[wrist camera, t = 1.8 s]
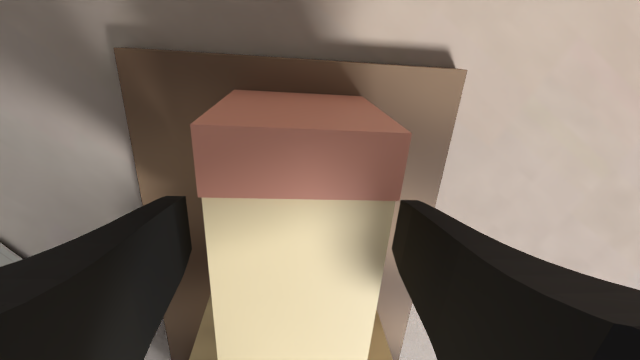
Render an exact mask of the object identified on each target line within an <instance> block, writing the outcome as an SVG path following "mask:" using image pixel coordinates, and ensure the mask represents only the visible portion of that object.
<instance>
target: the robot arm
mask: <svg viewBox="0 0 640 360" xmlns="http://www.w3.org/2000/svg"><path fill="white" fill-rule="evenodd" d="M191 250H192V244H191V236H190V228H189V220H188V212H187V204H186V196H164V197H161V198H159V199H156V200H154V201H152V202H150V203H148V204H146V205H144V206H142V207H140V208H138V209H136V210H134V211H132V212H130V213H128V214H126V215H124V216H122V217H120V218H118V219H116V220H115V221H113V222H110V223H108V224H106V225H104V226H102V227H100V228H98V229H95V230H93V231H91V232H89V233H87V234H85V235H83V236H80V237H78V238H76V239H74V240H71V241H69V242H67V243H64V244H62V245H59V246H57V247H55V248H52V249H49V250H47V251H44V252H41V253H39V254H36V255H34V256H31V257H28V258H25V259H23V260H20V261H17V262H14V263H11V264H7V265H4V266H1V267H0V360H144V358H145V355H146V353H147V351H148V348H149V346H150V344H151V341H152V339H153V337H154V335H155V333H156V331H157V329H158V327H159V325H160V323H161V321H162V319H163V317H164V315H165V313H166V311H167V309H168V307H169V304H170V302H171V300H172V298H173V296H174V294H175V292H176V290H177V288H178V286H179V284H180V282H181V280H182V277H183V275H184V273H185V270H186V267H187V264H188V260H189V257H190V254H191ZM392 252H393V256H394V259H395V262H396V266H397V269H398V272H399V274H400V277H401V279H402V281H403V283H404V285H405V287H406V290H407V292H408V294H409V296H410V298H411V300H412V302H413V304H414V306H415V308H416V311H417V313H418V315H419V317H420V319H421V321H422V323H423V325H424V327H425V329H426V332H427V334H428V336H429V339H430V341H431V343H432V346H433V349H434V351H435V354H436V357H437V360H640V290H637V289H633V288H630V287H626V286H622V285H619V284H615V283H611V282H608V281H604V280H601V279H598V278H594V277H591V276H588V275H585V274H581V273H578V272H575V271H573V270H570V269H567V268H564V267H561V266H558V265H555V264H552V263H549V262H547V261H544V260H541V259H539V258H536V257H534V256H531V255H529V254H526V253H524V252H521V251H519V250H517V249H514V248H512V247H510V246H507V245H505V244H503V243H501V242H499V241H497V240H495V239H493V238H490V237H488V236H486V235H484V234H482V233H480V232H478V231H476V230H474V229H473V228H471V227H469V226H467V225H465V224H463V223H461V222H459V221H458V220H456V219H454V218H452V217H450V216H449V215H447V214H445V213H443V212H441V211H439V210H438V209H436V208H434V207H432V206H430V205H428V204H426V203H424V202H421V201H419V200H401V201H400V206H399V212H398V217H397V222H396V228H395V233H394V238H393V244H392Z"/></svg>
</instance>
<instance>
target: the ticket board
mask: <svg viewBox="0 0 640 360" xmlns="http://www.w3.org/2000/svg"><path fill="white" fill-rule="evenodd" d="M114 53H115V59H116V64H117V69H118V75H119V80H120V85H121V91H122V96H123V102H124V107H125V112H126V118H127V123H128V129H129V134H130V139H131V145H132V150H133V156H134V161H135V166H136V172H137V177H138V183H139V188H140V193H141V199H142V204H143V206H144V205H146V204H148V203H150V202H152V201H154V200H156V199H159V198H161V197H164V196H186V204H187V212H188V220H189V228H190V236H191V244H192V250H191V254H190V257H189V260H188V264H187V267H186V270H185V273H184V275H183V277H182V280H181V282H180V284H179V286H178V288H177V290H176V292H175V294H174V296H173V298H172V300H171V302H170V304H169V307H168V309H167V311H166V313H165V315H164V323H165V328H166V333H167V339H168V344H169V350H170V355H171V360H218V358H217V348H216V337H215V327H214V317H213V307H212V297H211V287H210V277H209V267H208V257H207V247H206V237H205V227H204V217H203V207H202V198H201V197H198V195H197V185H196V176H195V166H194V157H193V147H192V138H191V128H190V124H191V123H192V122H194V121H195V120H196V119H197V118H199V117H200V116H201V115H203V114H204V113H205V112H206V111H208V110H209V109H210V108H211V107H213V106H214V105H215V104H217V103H218V102H219V101H220V100H222V99H223V98H224V97H225V96H227V95H228V94H229V93H231V92H232V91H233V90H252V91H271V92H290V93H309V94H329V95H348V96H362V97H364V98H365V99H366V100H368V101H369V102H370V103H372V104H373V105H374V106H376V107H377V108H378V109H380V110H381V111H383V112H384V113H385V114H387V115H388V116H389V117H391V118H392V119H393V120H395V121H396V122H397V123H399V124H400V125H401V126H403V127H404V128H405V129H407V130H408V131H410V132H411V133H412V136H411V141H410V147H409V152H408V158H407V163H406V169H405V174H404V179H403V185H402V190H401V196H400V201H401V200H419V201H421V202H424V203H426V204H428V205H430V206H432V207H434V208H435V204H436V200H437V196H438V192H439V187H440V183H441V179H442V175H443V171H444V166H445V162H446V158H447V154H448V149H449V145H450V141H451V137H452V133H453V128H454V124H455V120H456V116H457V111H458V107H459V103H460V99H461V95H462V90H463V86H464V82H465V78H466V73H467V70H463V69H456V68H440V67H424V66H409V65H393V64H377V63H361V62H346V61H330V60H314V59H298V58H283V57H267V56H251V55H235V54H220V53H204V52H188V51H172V50H157V49H141V48H114ZM400 201H396V202H395V208H394V214H393V219H392V225H391V230H390V236H389V242H388V247H387V253H386V258H385V264H384V270H383V275H382V281H381V286H380V292H379V298H378V303H377V309H376V314H375V320H374V325H373V331H372V337H371V342H370V348H369V353H368V359H367V360H399V356H400V352H401V348H402V344H403V339H404V335H405V331H406V327H407V323H408V318H409V314H410V310H411V306H412V300H411V298H410V296H409V294H408V292H407V290H406V287H405V285H404V283H403V281H402V279H401V277H400V274H399V272H398V269H397V266H396V262H395V259H394V256H393V252H392V244H393V238H394V233H395V228H396V222H397V217H398V212H399V206H400Z"/></svg>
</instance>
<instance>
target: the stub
mask: <svg viewBox="0 0 640 360" xmlns="http://www.w3.org/2000/svg"><path fill="white" fill-rule="evenodd" d="M190 128H191V138H192V147H193V157H194V166H195V176H196V185H197V195H198V197H201V198H202V207H203V217H204V227H205V237H206V247H207V257H208V267H209V277H210V287H211V297H212V307H213V317H214V327H215V337H216V348H217V358H218V360H367V359H368V353H369V348H370V342H371V337H372V331H373V325H374V320H375V314H376V309H377V303H378V298H379V292H380V286H381V281H382V275H383V270H384V264H385V258H386V253H387V247H388V242H389V236H390V230H391V225H392V219H393V214H394V208H395V202H396V201H400V196H401V190H402V185H403V179H404V174H405V169H406V163H407V158H408V152H409V147H410V141H411V136H412V133H411V132H410V131H408V130H407V129H405V128H404V127H403V126H401V125H400V124H399V123H397V122H396V121H395V120H393V119H392V118H391V117H389V116H388V115H387V114H385V113H384V112H383V111H381V110H380V109H378V108H377V107H376V106H374V105H373V104H372V103H370V102H369V101H368V100H366V99H365V98H364V97H362V96H348V95H329V94H309V93H290V92H271V91H252V90H233V91H232V92H231V93H229V94H228V95H227V96H225V97H224V98H223V99H222V100H220V101H219V102H218V103H217V104H215V105H214V106H213V107H211V108H210V109H209V110H208V111H206V112H205V113H204V114H203V115H201V116H200V117H199V118H197V119H196V120H195V121H194V122H192V123H191V124H190Z"/></svg>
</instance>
